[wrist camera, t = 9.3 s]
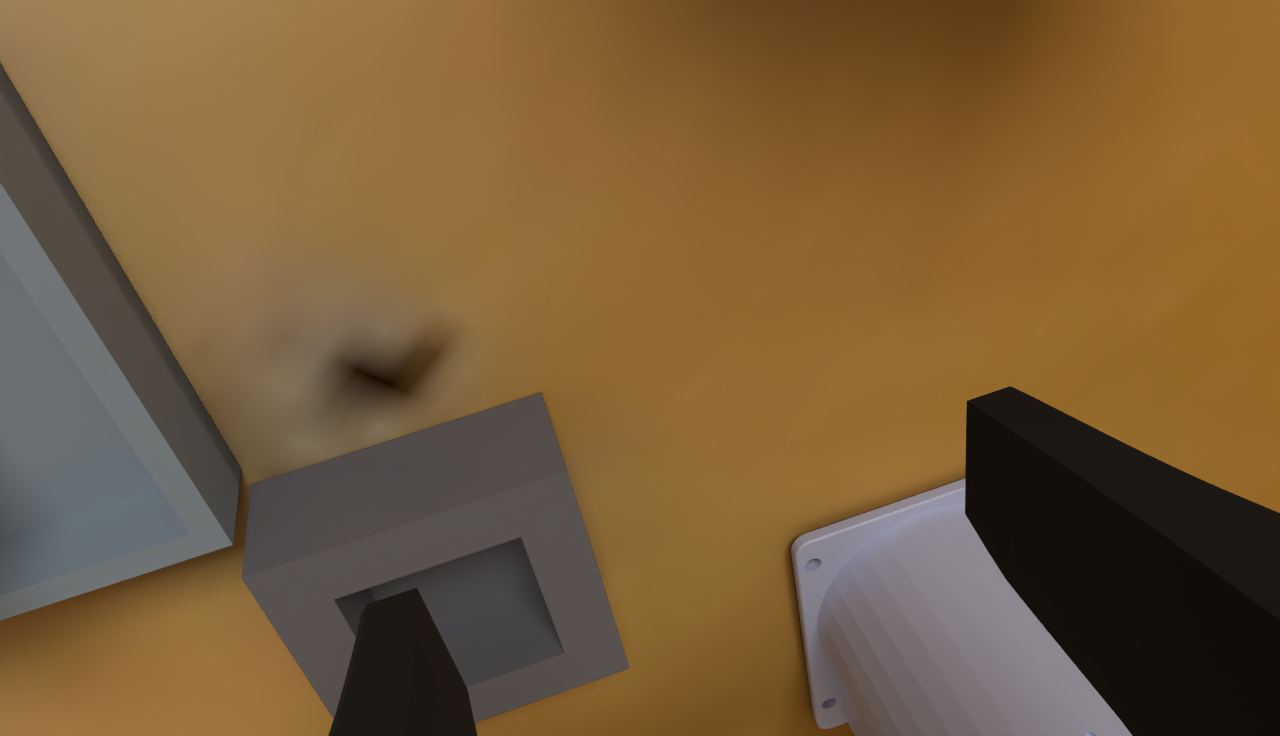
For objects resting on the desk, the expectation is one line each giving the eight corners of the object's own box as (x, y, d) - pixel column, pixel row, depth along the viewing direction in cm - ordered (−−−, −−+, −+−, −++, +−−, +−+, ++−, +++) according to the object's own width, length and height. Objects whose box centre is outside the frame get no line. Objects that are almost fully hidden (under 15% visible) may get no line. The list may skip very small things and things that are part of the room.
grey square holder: (602, 583, 27) (629, 668, 25) (358, 667, 26) (362, 762, 24) (541, 392, 23) (567, 471, 21) (250, 485, 22) (241, 578, 20)
